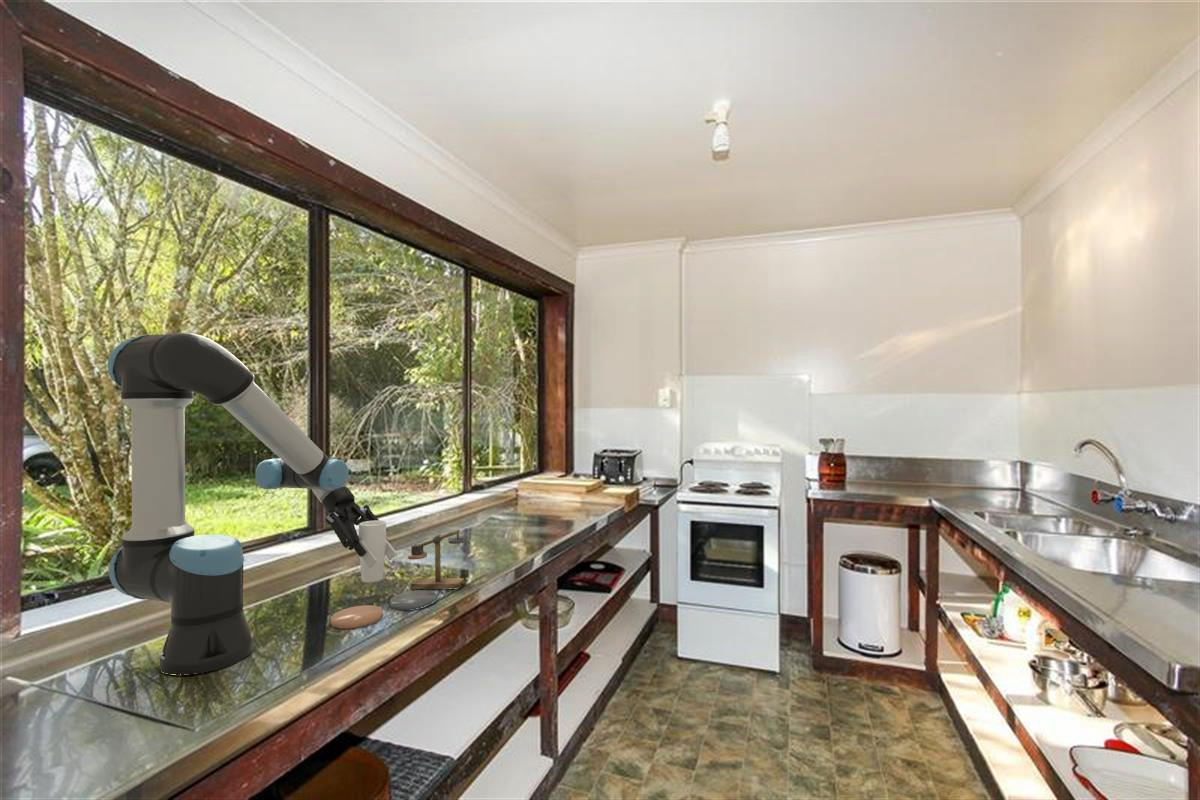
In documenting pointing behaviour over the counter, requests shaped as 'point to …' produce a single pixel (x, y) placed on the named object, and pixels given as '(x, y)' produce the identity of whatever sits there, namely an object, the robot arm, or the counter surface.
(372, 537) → the drinking glass
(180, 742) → the counter surface
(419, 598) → the charcoal dish
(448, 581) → the balance
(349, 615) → the pink oval pebble
